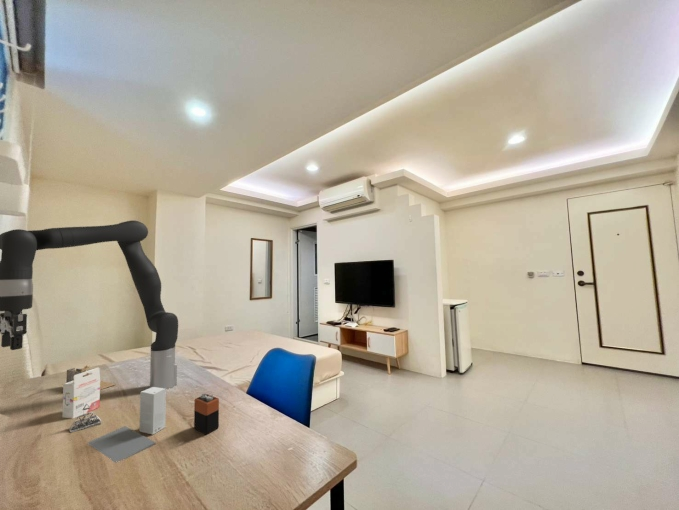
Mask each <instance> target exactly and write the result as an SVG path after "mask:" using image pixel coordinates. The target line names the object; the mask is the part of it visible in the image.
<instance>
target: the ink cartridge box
mask: <svg viewBox="0 0 679 510" xmlns="http://www.w3.org/2000/svg"><path fill="white" fill-rule="evenodd" d="M87 373H88V374H89V375H88V376H85V377H83V375H86V374H87ZM100 381H101V372H100V367H95V368H92V369H89V370H88V369H87V370H86V371H85V372H82V373H80V374H76V375H74V381H71V382H68V383H62V384H63V387H62V415H61V417H62V418H64V419H65V418H67V419H72V420H73V419H76V418H77V417H78V416H80V415H83V410H82V409H83V408H84V406H85V405H86V403H87V404H88V405H89V407H90V409H87V410H84V414H88V413H91V412H93V411H95V410H97V409H98V408H100V405H101V404H100V403H101V401H100V399H101V390H100ZM88 405H86V407H85V408H89V407H88ZM85 408H84V409H85Z"/></svg>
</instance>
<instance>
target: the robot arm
mask: <svg viewBox="0 0 679 510" xmlns="http://www.w3.org/2000/svg"><path fill="white" fill-rule="evenodd" d="M148 229H149V228H148V227H147V226H146V224H144V222H141V221H139V220H127V221H122V222H119V223H116V224H108V225H107V224H106V225H94V226H91V225H90V226H89V225H88V226H65V227H51V228H50V227H49V228H44V229H37V230H32V229H31V230H26V229H20V228H19V229H11V230H7V231H5V232H2V233H0V250H1V257H0V335H1V339H0V340H1V343H0V346H1V347H2V348H7V347H9V349H10V350H11V351H15V350H22V348H23V343H24V341H23V339H24V335H26V334H27V325H28V323H27V321H28V319H27V318H28V314H27V313H23V310H24V311H25V310H29V309H32V308H33V301H34V300H33V298H34V295H33V294H34V283H33V271H34V270H33V263H34V261H35V257H36V252H37V251H39V250H40V251H42V250H46V249H47V250H51V249H64V248H65V249H66V248H74V247H81V246H87V245H93V244H101V243H109V242H117V244H118V246H119V248H120V250H121V252H122V254H123V257H124V258H125V261H126V265H127V268H128V269H129V272H130V276H131V278H132V282H133V284H134V286H135V289H136V291H137V293H138V296H139V299H140V302H141V304H142V308H143V310H144V315H145V320H146V324H147V326H148V329H149V330H150V331H152V332H153V333H155V340H154V341H153V342H151V345H150V362H149V363H150V365H149V367H150V368H149V388H151V387H158V388H165V389H167V390H169V388H170V389H172V388H173V387H175V386H177V383H178V363H176V343H177V341H178V337H179V336H178V334H179V319H178V316H177V315H176V314H175V313H173V312H167V311H166V310H165V308H164V305H163V303H162V299H161V297H162V296H161V294H162V281H161V278H160V275H159V272H158V269H157V268H156V266H155V265H154V264H153V262H152V261H151V260H150V259H149V256H147V255H146V253H145V251H144V250H143V246H142V243H141V242H143V240H145V239H146V238H147V237H148V235H149V230H148Z"/></svg>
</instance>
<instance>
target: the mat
mask: <svg viewBox="0 0 679 510" xmlns="http://www.w3.org/2000/svg"><path fill="white" fill-rule="evenodd" d="M156 443H157V442H156V441H154V440H152V439H151V438H149V437H146V435H145V436H144V435H142V434H141V433H138V432H137V431H135V430H133V429H132V428H130V427H127V426H126V425H124V426H122V427H120V428H118V429H115V430H113V431H111V432H108V433H106V434H104V435H101V436H100V437H97V438H94V439H93V440H90V441H87V445H89V446H91V447H92V448H93V449H95V450H96V451H98V452H99V453H101V454H102V455H104V456H105V457H107V458H108V459H109V460H111V461H112V462H114V463H115V464H118V463H119V462H118V461H120V462H121V460H122V461H124V460H126V459H128V458H130V457H132V456H134V455H137V454H139V453H140V452H143V451H145V450H147V449H149V448H151V447H153V446H155V445H157V444H156ZM110 458H111V459H110ZM123 459H124V460H123ZM116 461H117V462H118V463H117V462H116Z"/></svg>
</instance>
